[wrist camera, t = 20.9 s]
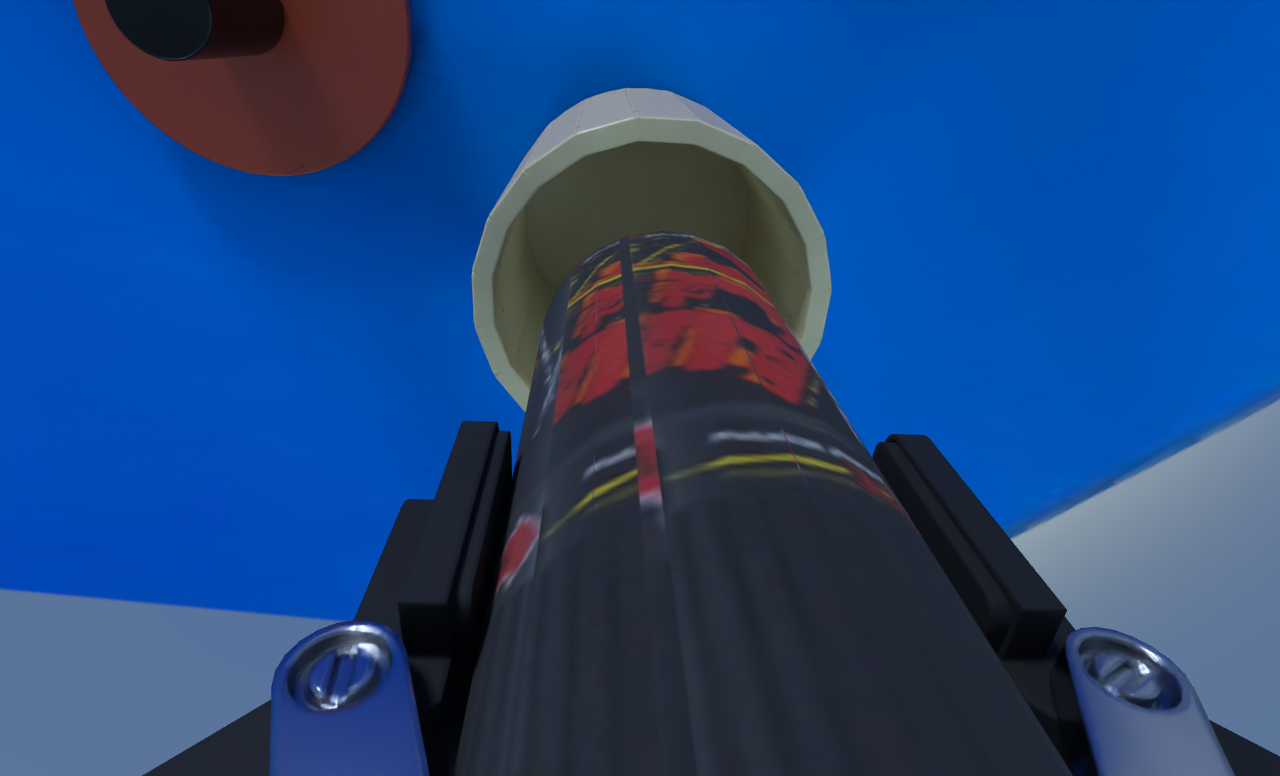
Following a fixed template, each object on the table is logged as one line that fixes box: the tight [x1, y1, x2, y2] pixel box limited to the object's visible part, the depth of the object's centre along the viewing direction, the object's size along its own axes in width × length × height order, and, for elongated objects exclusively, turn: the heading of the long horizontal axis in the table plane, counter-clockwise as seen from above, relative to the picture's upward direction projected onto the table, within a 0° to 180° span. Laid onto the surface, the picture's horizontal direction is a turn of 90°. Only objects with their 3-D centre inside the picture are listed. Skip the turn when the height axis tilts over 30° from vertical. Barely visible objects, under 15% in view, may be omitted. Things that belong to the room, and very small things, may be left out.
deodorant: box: [453, 231, 1073, 776], centre depth 11 cm, size 6×6×15 cm
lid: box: [73, 0, 412, 176], centre depth 21 cm, size 11×11×6 cm
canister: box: [472, 88, 832, 413], centre depth 24 cm, size 10×10×10 cm
